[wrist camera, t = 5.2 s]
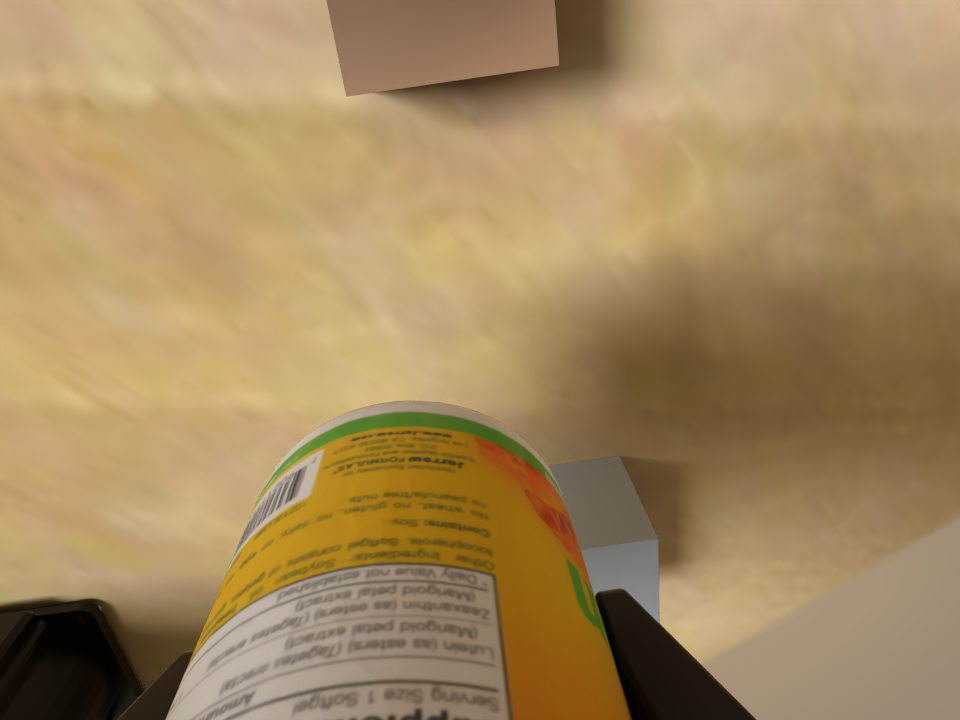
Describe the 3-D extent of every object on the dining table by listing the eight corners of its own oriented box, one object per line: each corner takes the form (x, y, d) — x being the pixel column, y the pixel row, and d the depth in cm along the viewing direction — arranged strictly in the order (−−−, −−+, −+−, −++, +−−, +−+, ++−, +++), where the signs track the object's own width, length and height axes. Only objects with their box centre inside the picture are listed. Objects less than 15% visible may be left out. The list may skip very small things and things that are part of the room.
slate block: (623, 551, 25) (659, 646, 21) (508, 567, 25) (522, 666, 21) (618, 454, 23) (658, 538, 19) (495, 472, 23) (507, 560, 19)
